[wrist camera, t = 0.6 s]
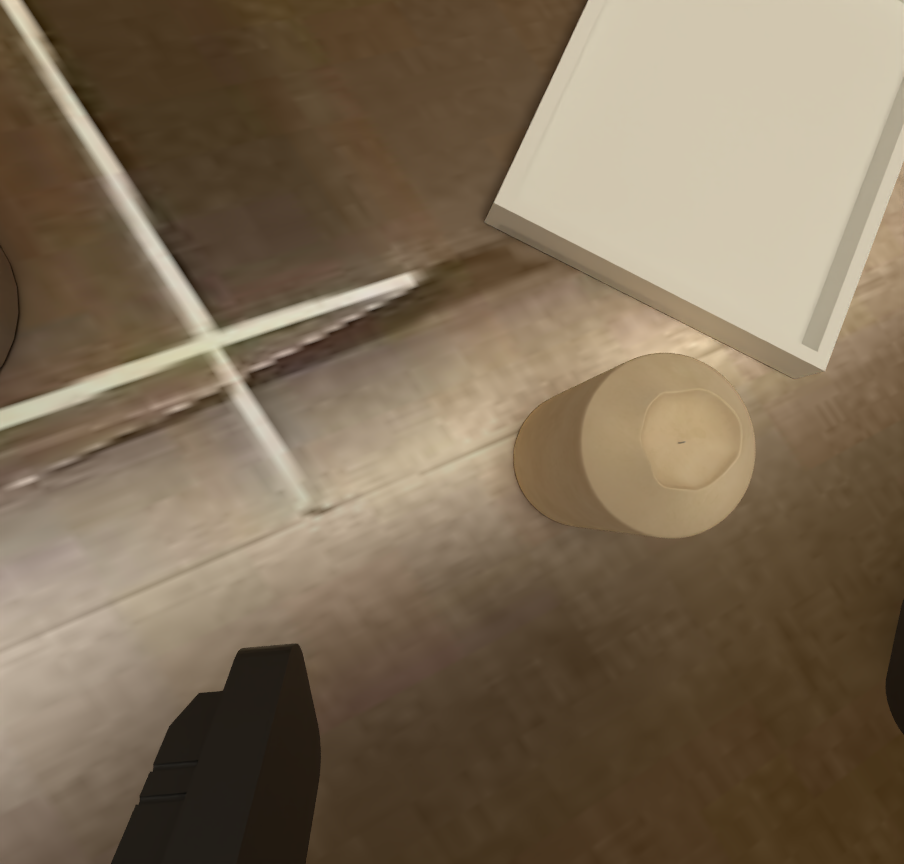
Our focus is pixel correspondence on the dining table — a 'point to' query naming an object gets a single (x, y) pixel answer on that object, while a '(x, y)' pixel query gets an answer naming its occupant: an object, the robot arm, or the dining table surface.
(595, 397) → the candle
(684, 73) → the tray
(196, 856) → the robot arm
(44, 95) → the dining table surface
